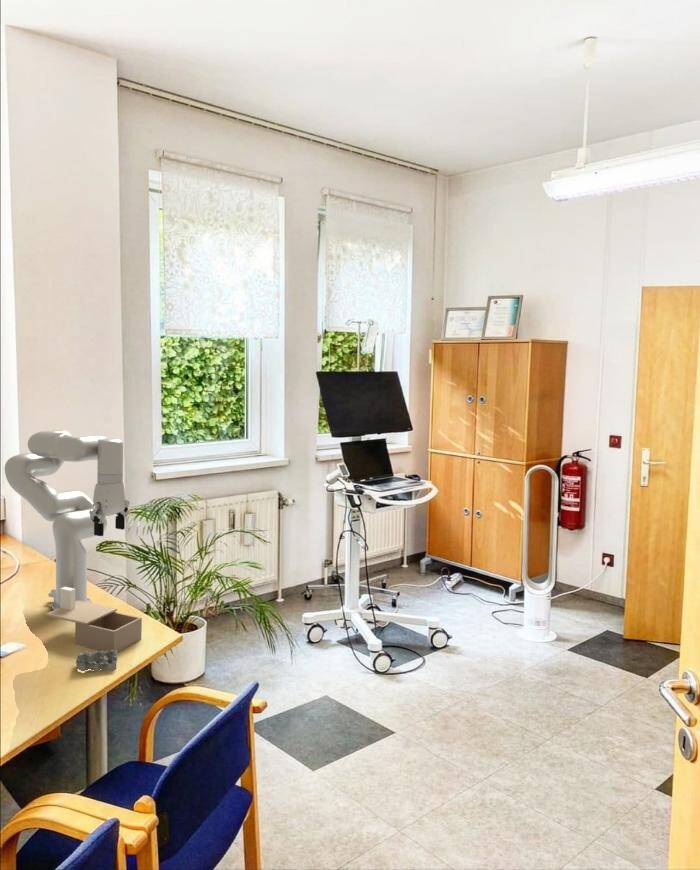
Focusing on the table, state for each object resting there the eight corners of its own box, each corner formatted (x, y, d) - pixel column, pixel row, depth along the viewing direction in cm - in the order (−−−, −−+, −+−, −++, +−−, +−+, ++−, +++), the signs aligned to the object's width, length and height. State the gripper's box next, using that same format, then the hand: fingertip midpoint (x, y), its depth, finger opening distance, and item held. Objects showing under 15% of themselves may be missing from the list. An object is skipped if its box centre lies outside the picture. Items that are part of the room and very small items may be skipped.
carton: (75, 644, 206) (75, 622, 205) (103, 630, 217) (104, 609, 216) (114, 654, 200) (114, 631, 200) (141, 639, 212) (141, 617, 211)
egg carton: (74, 675, 187) (74, 660, 187) (77, 663, 195) (77, 648, 194) (116, 672, 190) (116, 657, 190) (118, 660, 197) (118, 646, 197)
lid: (46, 615, 208) (46, 593, 207) (78, 602, 220) (78, 581, 219) (86, 625, 203) (86, 602, 202) (117, 610, 215) (117, 589, 214)
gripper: (119, 473, 230) (118, 525, 232) (80, 481, 214) (80, 536, 216) (138, 475, 227) (137, 528, 229) (100, 484, 211) (99, 540, 213)
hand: (109, 532), depth 223 cm, fingers open, 9 cm apart
